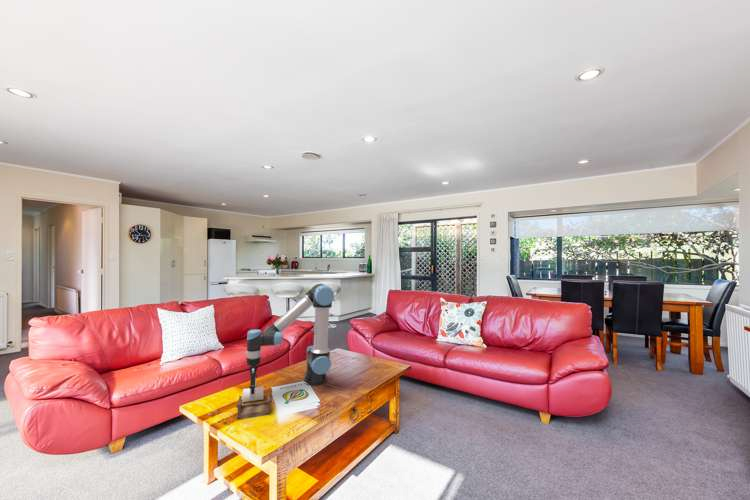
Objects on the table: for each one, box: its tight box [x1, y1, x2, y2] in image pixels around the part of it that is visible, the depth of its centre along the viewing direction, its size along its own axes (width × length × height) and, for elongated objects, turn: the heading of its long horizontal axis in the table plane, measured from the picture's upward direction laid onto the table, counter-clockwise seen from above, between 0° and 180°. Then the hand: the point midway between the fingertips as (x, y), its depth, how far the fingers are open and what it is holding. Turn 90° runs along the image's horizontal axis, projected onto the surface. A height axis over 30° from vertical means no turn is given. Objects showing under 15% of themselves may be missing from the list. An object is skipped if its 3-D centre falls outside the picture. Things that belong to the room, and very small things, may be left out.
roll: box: [242, 386, 265, 403], centre depth 182 cm, size 11×7×7 cm, turn 109°
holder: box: [235, 392, 273, 420], centre depth 169 cm, size 18×11×7 cm, turn 109°
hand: (253, 393), depth 183 cm, fingers open, 13 cm apart
